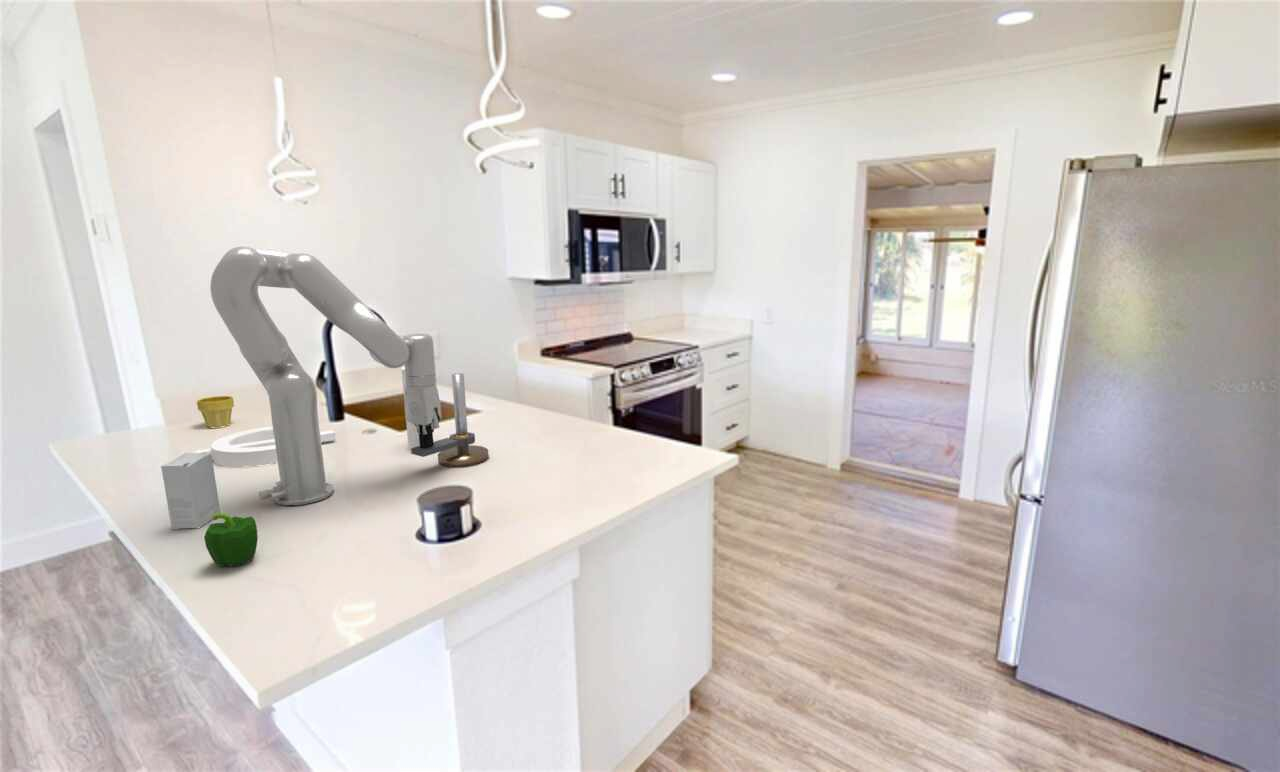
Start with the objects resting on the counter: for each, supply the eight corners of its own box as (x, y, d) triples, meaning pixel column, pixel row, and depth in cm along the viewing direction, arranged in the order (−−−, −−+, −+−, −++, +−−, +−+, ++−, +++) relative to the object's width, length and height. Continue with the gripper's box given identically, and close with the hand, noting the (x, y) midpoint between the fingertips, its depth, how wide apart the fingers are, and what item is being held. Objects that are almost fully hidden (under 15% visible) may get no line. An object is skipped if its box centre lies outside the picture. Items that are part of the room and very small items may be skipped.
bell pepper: (271, 551, 119) (265, 504, 117) (243, 572, 111) (235, 522, 109) (230, 550, 119) (223, 503, 117) (199, 571, 111) (190, 521, 109)
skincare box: (194, 514, 136) (184, 452, 133) (222, 513, 137) (212, 451, 134) (170, 531, 128) (158, 464, 125) (200, 529, 129) (189, 463, 126)
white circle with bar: (188, 465, 170) (186, 449, 169) (265, 437, 197) (263, 423, 196) (274, 471, 165) (272, 454, 164) (341, 441, 192) (340, 427, 191)
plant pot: (235, 420, 217) (231, 394, 215) (238, 426, 209) (234, 399, 207) (200, 425, 211) (195, 398, 209) (202, 431, 203) (197, 403, 201)
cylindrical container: (437, 444, 187) (430, 365, 182) (426, 451, 180) (420, 370, 175) (415, 443, 188) (408, 365, 183) (404, 450, 181) (396, 369, 176)
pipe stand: (459, 470, 164) (453, 381, 158) (427, 461, 171) (420, 375, 166) (498, 457, 175) (493, 373, 170) (467, 448, 183) (461, 368, 178)
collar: (425, 458, 158) (424, 451, 158) (409, 454, 162) (408, 446, 161) (479, 441, 173) (479, 434, 173) (464, 437, 177) (463, 431, 176)
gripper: (391, 380, 159) (398, 446, 163) (426, 386, 151) (432, 455, 155) (416, 375, 165) (421, 439, 169) (451, 381, 157) (456, 448, 161)
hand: (426, 446), depth 162 cm, fingers closed
